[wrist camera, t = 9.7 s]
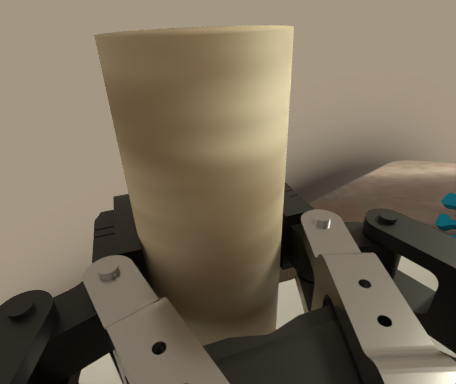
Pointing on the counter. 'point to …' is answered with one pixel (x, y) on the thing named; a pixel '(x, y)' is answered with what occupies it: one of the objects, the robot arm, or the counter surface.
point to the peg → (205, 165)
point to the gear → (444, 220)
